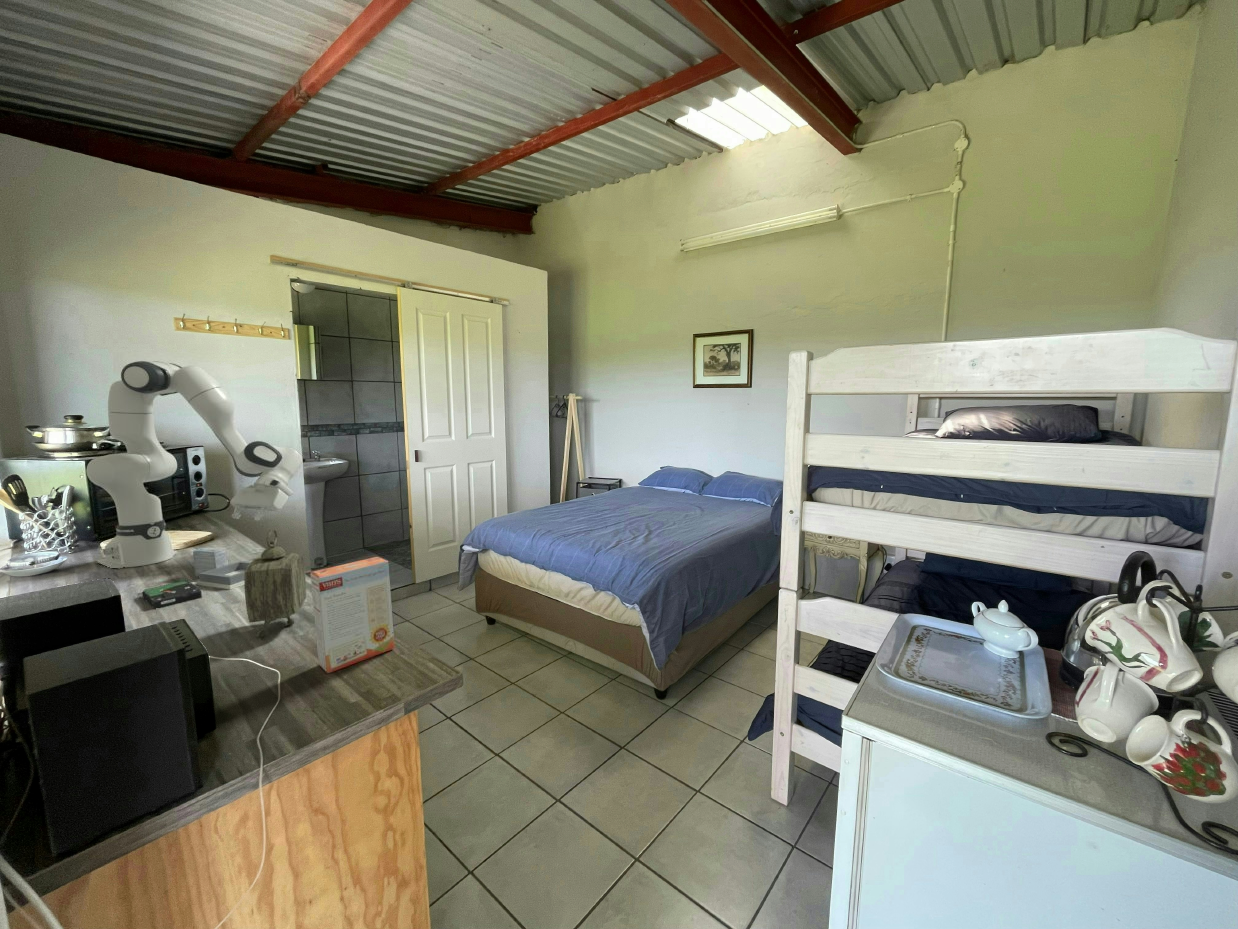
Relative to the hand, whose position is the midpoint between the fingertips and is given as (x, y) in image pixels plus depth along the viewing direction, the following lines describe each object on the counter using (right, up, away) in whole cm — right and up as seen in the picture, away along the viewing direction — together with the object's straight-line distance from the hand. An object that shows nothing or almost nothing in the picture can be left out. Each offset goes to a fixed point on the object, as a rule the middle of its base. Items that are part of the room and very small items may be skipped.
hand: (244, 518), depth 168 cm
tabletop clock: (+45, -22, -47) cm, 69 cm away
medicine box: (-3, -18, -9) cm, 20 cm away
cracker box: (+72, -24, -61) cm, 98 cm away
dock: (+8, -18, -14) cm, 24 cm away
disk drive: (+1, -20, -28) cm, 35 cm away
